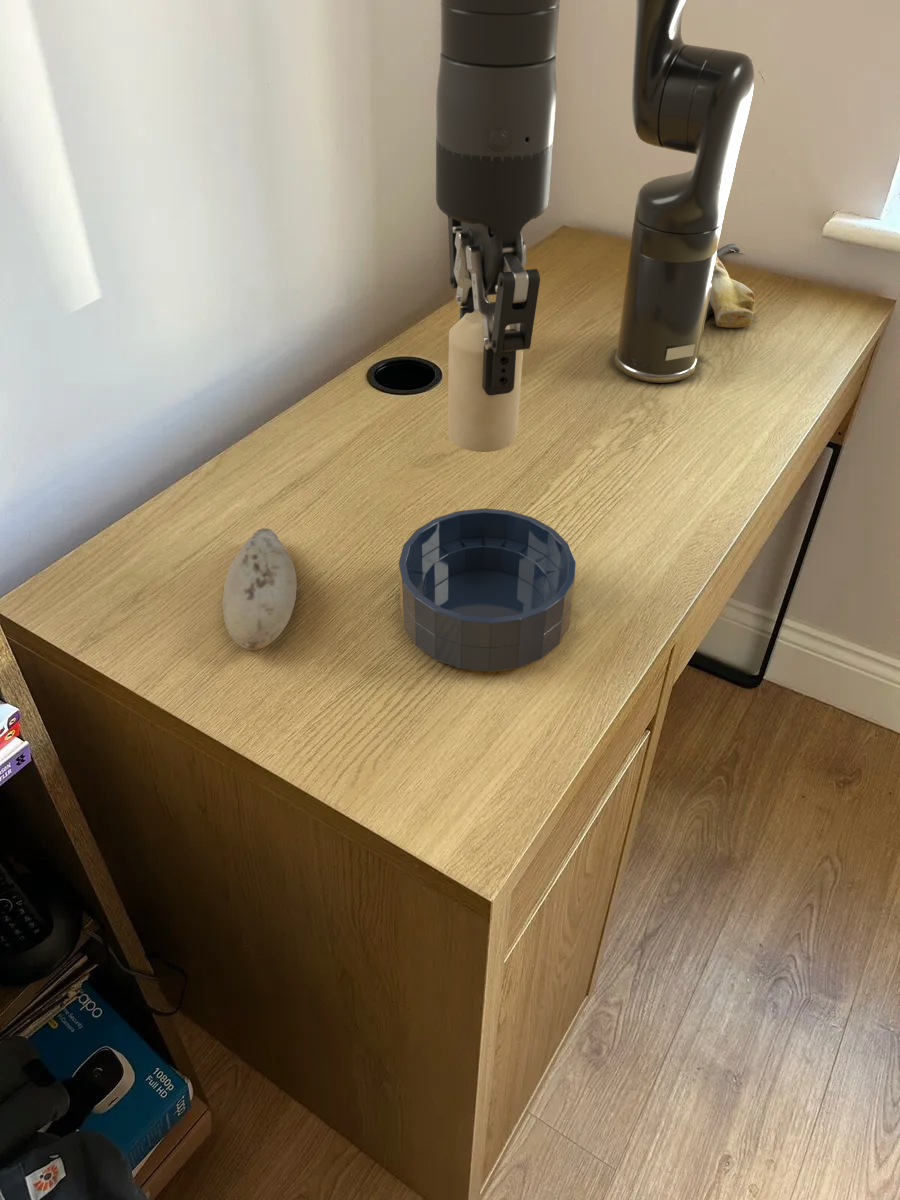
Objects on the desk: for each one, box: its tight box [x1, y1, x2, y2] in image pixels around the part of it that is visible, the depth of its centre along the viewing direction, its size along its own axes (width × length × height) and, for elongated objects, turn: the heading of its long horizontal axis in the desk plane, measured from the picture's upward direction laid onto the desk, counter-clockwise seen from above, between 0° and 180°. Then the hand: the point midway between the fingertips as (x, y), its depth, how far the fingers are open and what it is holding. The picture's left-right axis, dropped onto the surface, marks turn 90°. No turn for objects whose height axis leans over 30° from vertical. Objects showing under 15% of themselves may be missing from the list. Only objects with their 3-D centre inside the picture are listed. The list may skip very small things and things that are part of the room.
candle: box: [447, 311, 524, 453], centre depth 73 cm, size 6×6×10 cm
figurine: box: [709, 256, 756, 329], centre depth 125 cm, size 5×5×15 cm
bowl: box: [398, 507, 577, 673], centre depth 80 cm, size 14×14×6 cm
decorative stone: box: [222, 527, 298, 651], centre depth 82 cm, size 6×16×3 cm, turn 7°
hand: (485, 371), depth 73 cm, fingers closed on candle, 5 cm apart
